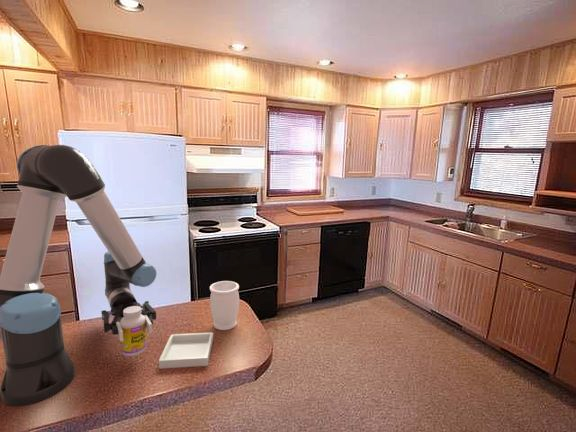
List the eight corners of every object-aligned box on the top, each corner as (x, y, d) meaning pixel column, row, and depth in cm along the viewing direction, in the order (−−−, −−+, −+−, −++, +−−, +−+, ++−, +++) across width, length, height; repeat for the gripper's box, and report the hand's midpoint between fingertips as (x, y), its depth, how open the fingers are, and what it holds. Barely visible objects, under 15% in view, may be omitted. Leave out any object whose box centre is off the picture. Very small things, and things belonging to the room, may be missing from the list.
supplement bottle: (130, 360, 84) (127, 317, 82) (116, 352, 88) (113, 311, 86) (151, 348, 90) (149, 307, 88) (138, 341, 93) (135, 302, 91)
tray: (159, 368, 86) (158, 360, 86) (171, 341, 100) (171, 334, 99) (207, 365, 88) (207, 357, 88) (213, 339, 101) (213, 332, 101)
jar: (205, 323, 111) (204, 285, 109) (229, 314, 118) (229, 278, 116) (220, 335, 103) (219, 294, 101) (245, 325, 110) (244, 286, 108)
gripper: (154, 305, 108) (173, 334, 90) (89, 320, 97) (95, 357, 78) (153, 285, 107) (172, 310, 89) (87, 298, 95) (93, 330, 77)
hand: (136, 332), depth 84 cm, fingers closed on supplement bottle, 7 cm apart
